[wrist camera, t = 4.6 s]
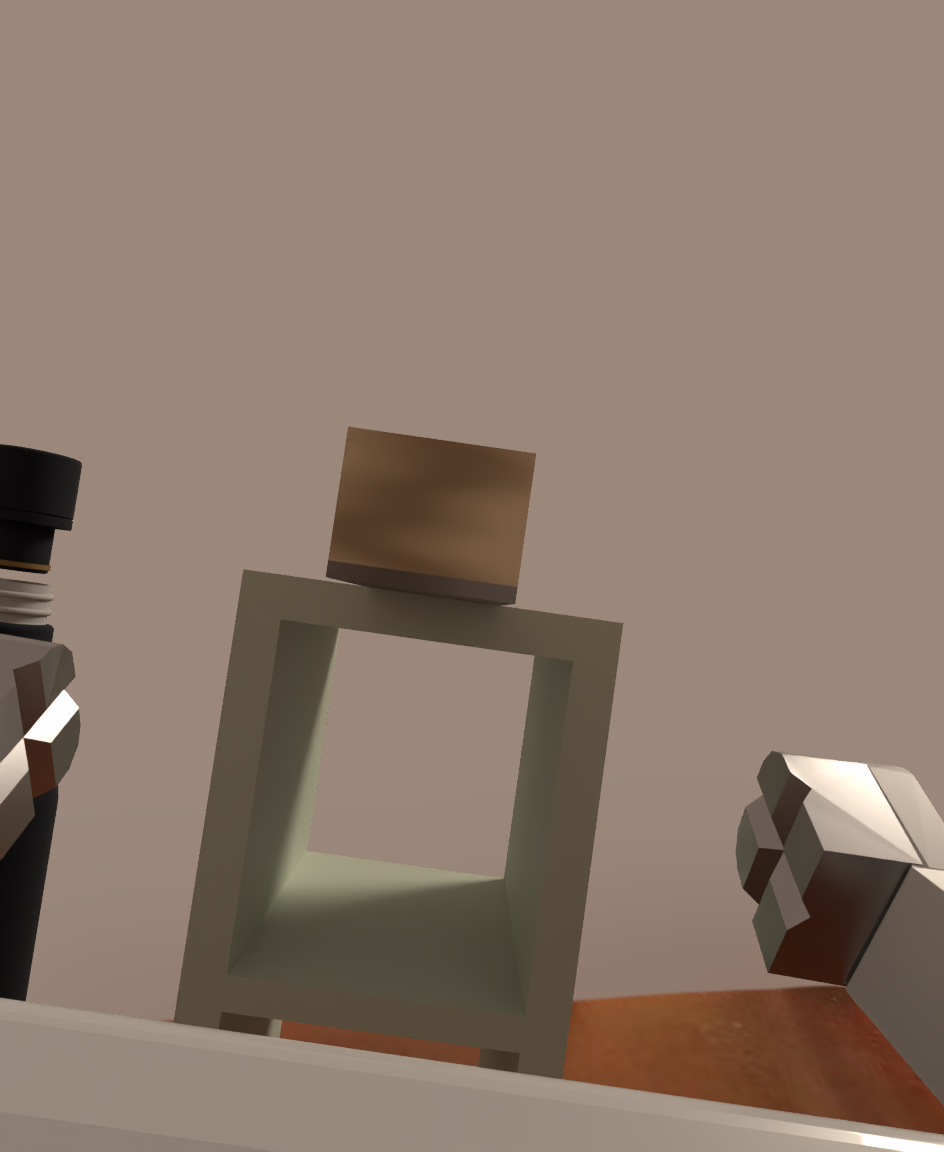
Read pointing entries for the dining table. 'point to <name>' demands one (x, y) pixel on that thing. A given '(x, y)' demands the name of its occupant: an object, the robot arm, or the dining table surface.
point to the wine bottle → (19, 608)
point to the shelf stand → (381, 889)
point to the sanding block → (431, 517)
